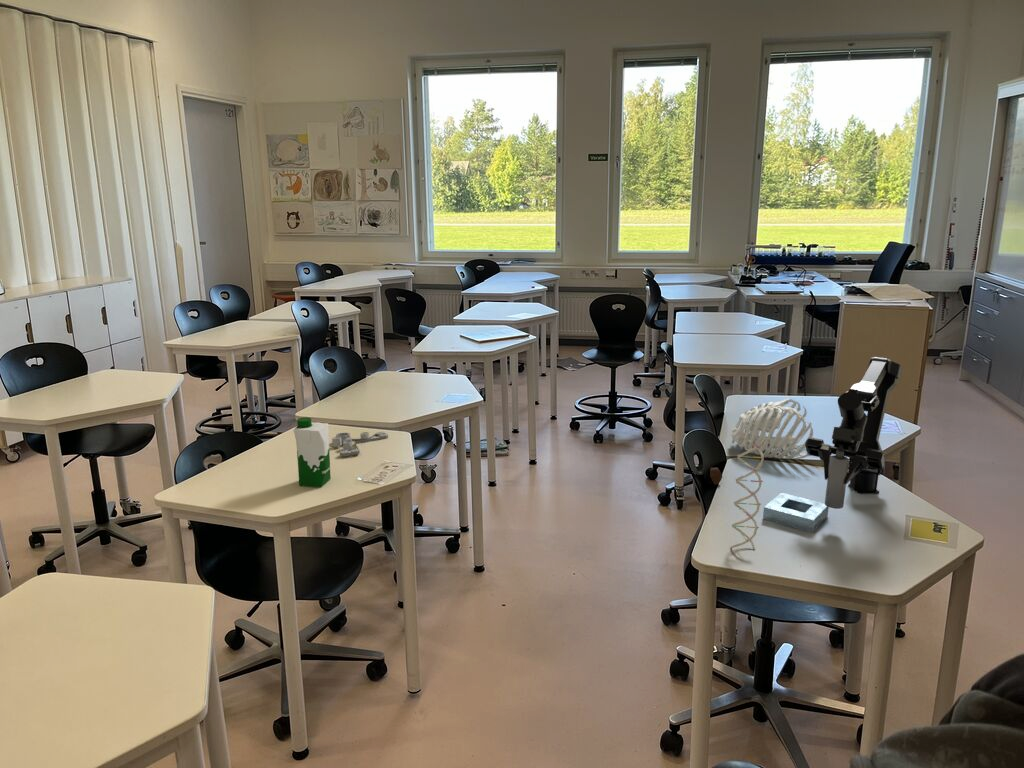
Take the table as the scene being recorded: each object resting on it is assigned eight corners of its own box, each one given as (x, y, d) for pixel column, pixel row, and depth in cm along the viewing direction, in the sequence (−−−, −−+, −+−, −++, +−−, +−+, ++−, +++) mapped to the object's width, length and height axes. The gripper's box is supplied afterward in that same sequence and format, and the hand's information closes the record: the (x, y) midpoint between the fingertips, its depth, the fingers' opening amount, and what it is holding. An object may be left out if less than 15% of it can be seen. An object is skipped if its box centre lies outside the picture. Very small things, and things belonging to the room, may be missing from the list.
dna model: (730, 553, 178) (740, 436, 170) (727, 541, 184) (737, 428, 176) (758, 556, 176) (769, 438, 169) (755, 544, 183) (765, 430, 175)
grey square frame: (779, 504, 207) (781, 492, 206) (827, 516, 199) (828, 504, 198) (762, 519, 197) (763, 507, 196) (812, 532, 189) (813, 520, 188)
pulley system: (314, 457, 246) (353, 460, 241) (313, 443, 245) (352, 446, 240) (357, 435, 272) (393, 438, 267) (356, 423, 271) (392, 425, 266)
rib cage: (813, 444, 258) (731, 434, 266) (820, 396, 253) (737, 386, 261) (818, 471, 234) (728, 459, 243) (827, 418, 229) (734, 407, 237)
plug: (837, 501, 193) (844, 447, 189) (846, 508, 189) (853, 453, 185) (821, 501, 193) (827, 448, 189) (830, 509, 188) (836, 454, 184)
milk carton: (307, 476, 226) (303, 414, 221) (335, 478, 225) (331, 416, 220) (294, 487, 218) (290, 423, 213) (323, 489, 216) (319, 424, 212)
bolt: (696, 472, 236) (715, 488, 221) (683, 466, 235) (702, 481, 220) (705, 457, 235) (725, 472, 221) (692, 450, 234) (712, 465, 219)
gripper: (810, 408, 193) (793, 458, 188) (887, 421, 182) (872, 475, 176) (816, 429, 201) (800, 478, 196) (890, 442, 190) (875, 495, 184)
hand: (835, 481), depth 188 cm, fingers closed on plug, 4 cm apart
